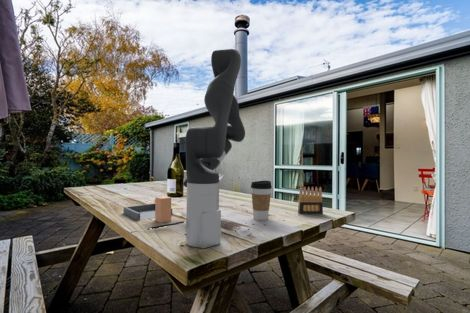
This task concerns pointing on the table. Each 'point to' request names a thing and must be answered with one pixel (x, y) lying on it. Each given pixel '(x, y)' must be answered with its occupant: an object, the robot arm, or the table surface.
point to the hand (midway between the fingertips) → (190, 186)
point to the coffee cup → (261, 199)
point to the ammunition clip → (310, 201)
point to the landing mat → (167, 225)
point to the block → (163, 209)
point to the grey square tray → (141, 211)
